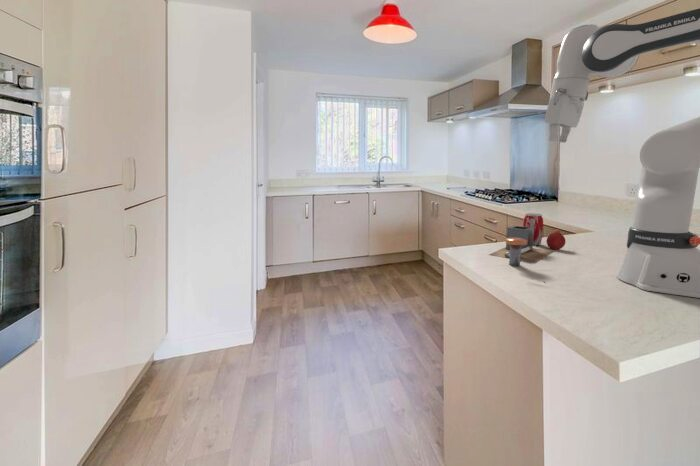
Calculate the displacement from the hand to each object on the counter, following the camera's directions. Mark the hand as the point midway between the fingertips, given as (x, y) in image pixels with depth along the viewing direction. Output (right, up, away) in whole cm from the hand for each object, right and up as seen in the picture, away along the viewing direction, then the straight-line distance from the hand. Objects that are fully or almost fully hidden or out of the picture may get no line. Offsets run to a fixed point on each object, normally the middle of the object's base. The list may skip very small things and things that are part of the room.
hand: (557, 141), depth 101 cm
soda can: (+11, -32, +35) cm, 48 cm away
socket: (0, -34, +23) cm, 41 cm away
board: (-2, -35, +18) cm, 39 cm away
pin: (-11, -38, +4) cm, 39 cm away
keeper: (-5, -34, +13) cm, 36 cm away
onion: (+13, -34, +24) cm, 43 cm away
